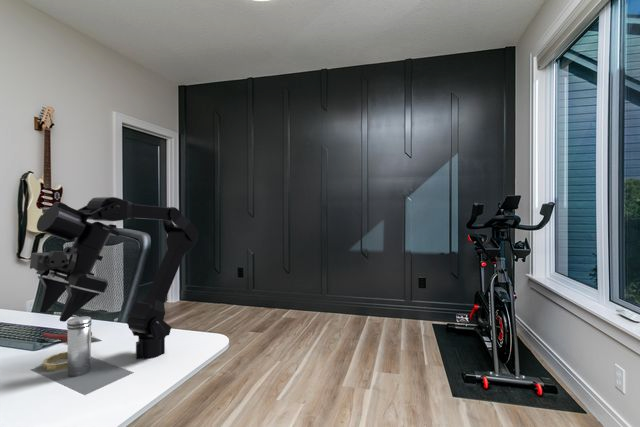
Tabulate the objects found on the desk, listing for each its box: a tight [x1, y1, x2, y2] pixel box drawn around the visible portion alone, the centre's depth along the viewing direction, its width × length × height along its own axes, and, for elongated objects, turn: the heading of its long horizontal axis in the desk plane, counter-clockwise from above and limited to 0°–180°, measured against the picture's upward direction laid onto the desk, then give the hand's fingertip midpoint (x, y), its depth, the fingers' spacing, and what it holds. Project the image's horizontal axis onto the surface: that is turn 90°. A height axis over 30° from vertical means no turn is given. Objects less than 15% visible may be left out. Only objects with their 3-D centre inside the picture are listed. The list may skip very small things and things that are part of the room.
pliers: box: [41, 331, 103, 343], centre depth 102 cm, size 12×20×3 cm, turn 64°
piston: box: [66, 316, 92, 377], centre depth 80 cm, size 5×5×13 cm
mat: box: [30, 356, 135, 396], centre depth 80 cm, size 24×11×1 cm, turn 63°
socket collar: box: [42, 351, 68, 371], centre depth 84 cm, size 8×8×2 cm
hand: (51, 316), depth 69 cm, fingers open, 9 cm apart
